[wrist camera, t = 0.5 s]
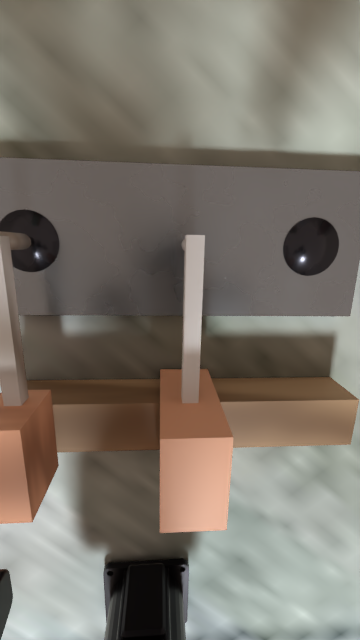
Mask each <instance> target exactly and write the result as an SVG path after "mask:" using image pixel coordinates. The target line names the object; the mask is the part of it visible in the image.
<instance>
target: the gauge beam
mask: <svg viewBox="0 0 360 640" xmlns="http://www.w3.org/2000/svg"><path fill="white" fill-rule="evenodd" d="M30 245H31V240H30V238H29V237H28V236H27V235H26V234H23V233H13V232H1V231H0V384H1V390H2V393H0V524H2V523H25V522H33V520H34V517H35V515H36V513H37V511H38V509H39V507H40V505H41V502H42V500H43V498H44V496H45V494H46V492H47V489H48V487H49V485H50V483H51V481H52V479H53V477H54V474H55V472H56V470H57V468H58V456H57V452H90V451H126V450H160V379H104V380H26V372H25V363H24V355H23V347H22V339H21V331H20V323H19V314H18V306H17V298H16V290H15V282H14V273H13V265H12V257H11V250H24V249H27V248H29V247H30ZM211 379H212V382H213V385H214V387H215V390H216V392H217V395H218V398H219V400H220V403H221V406H222V408H223V411H224V414H225V416H226V419H227V422H228V424H229V427H230V429H231V432H232V435H233V448H237V447H274V446H310V445H347V444H351V439H352V434H353V429H354V424H355V418H356V413H357V408H358V403H359V399H357V398H356V397H355V396H354V395H352V394H351V393H350V392H348V391H347V390H346V389H345V388H343V387H342V386H341V385H339V384H338V383H337V382H336V381H334V380H333V379H332V378H330V377H288V378H211Z"/></svg>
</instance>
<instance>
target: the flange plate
mask: <svg viewBox="0 0 360 640" xmlns="http://www.w3.org/2000/svg"><path fill="white" fill-rule="evenodd" d="M0 231H1V232H13V233H23V234H26V235H27V236H28V237H29V238H30V240H31V245H30V247H29V248H27V249H24V250H11V257H12V265H13V273H14V282H15V290H16V298H17V306H18V314H19V315H177V316H183V297H184V252H185V251H184V250H183V249H182V245H181V244H182V241H183V240H184V239H185V235H205V248H204V274H203V300H202V316H350V314H351V308H352V302H353V296H354V290H355V284H356V278H357V272H358V266H359V261H360V171H338V170H312V169H286V168H260V167H234V166H208V165H182V164H157V163H131V162H105V161H79V160H53V159H27V158H2V157H0Z"/></svg>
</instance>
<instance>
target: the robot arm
mask: <svg viewBox="0 0 360 640" xmlns="http://www.w3.org/2000/svg"><path fill="white" fill-rule="evenodd" d="M188 581H189V564H188V561H187V560H185V559H175V560H156V561H137V562H118V563H108V564H106V565H105V568H104V590H105V606H106V623H107V624H106V631H105V638H104V640H186V635H185V623H186V622H187V609H188ZM12 599H13V593H12V587H11V580H10V574H9V571H8V570H7V569H0V640H1V637H2V634H3V631H4V628H5V624H6V621H7V618H8V615H9V612H10V608H11V604H12Z"/></svg>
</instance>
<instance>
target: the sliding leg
mask: <svg viewBox="0 0 360 640" xmlns="http://www.w3.org/2000/svg"><path fill="white" fill-rule="evenodd" d="M181 245H182V249H183V250H184V251H185V252H184V297H183V341H182V369H160V533H173V532H194V531H216V530H227V518H228V504H229V491H230V478H231V464H232V451H233V435H232V432H231V429H230V427H229V424H228V422H227V419H226V416H225V414H224V411H223V408H222V406H221V403H220V400H219V398H218V395H217V392H216V390H215V387H214V385H213V382H212V379H211V377H210V374H209V371H208V369H200V351H201V325H202V300H203V274H204V248H205V235H185V239H184V240H183V241H182V244H181Z"/></svg>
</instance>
